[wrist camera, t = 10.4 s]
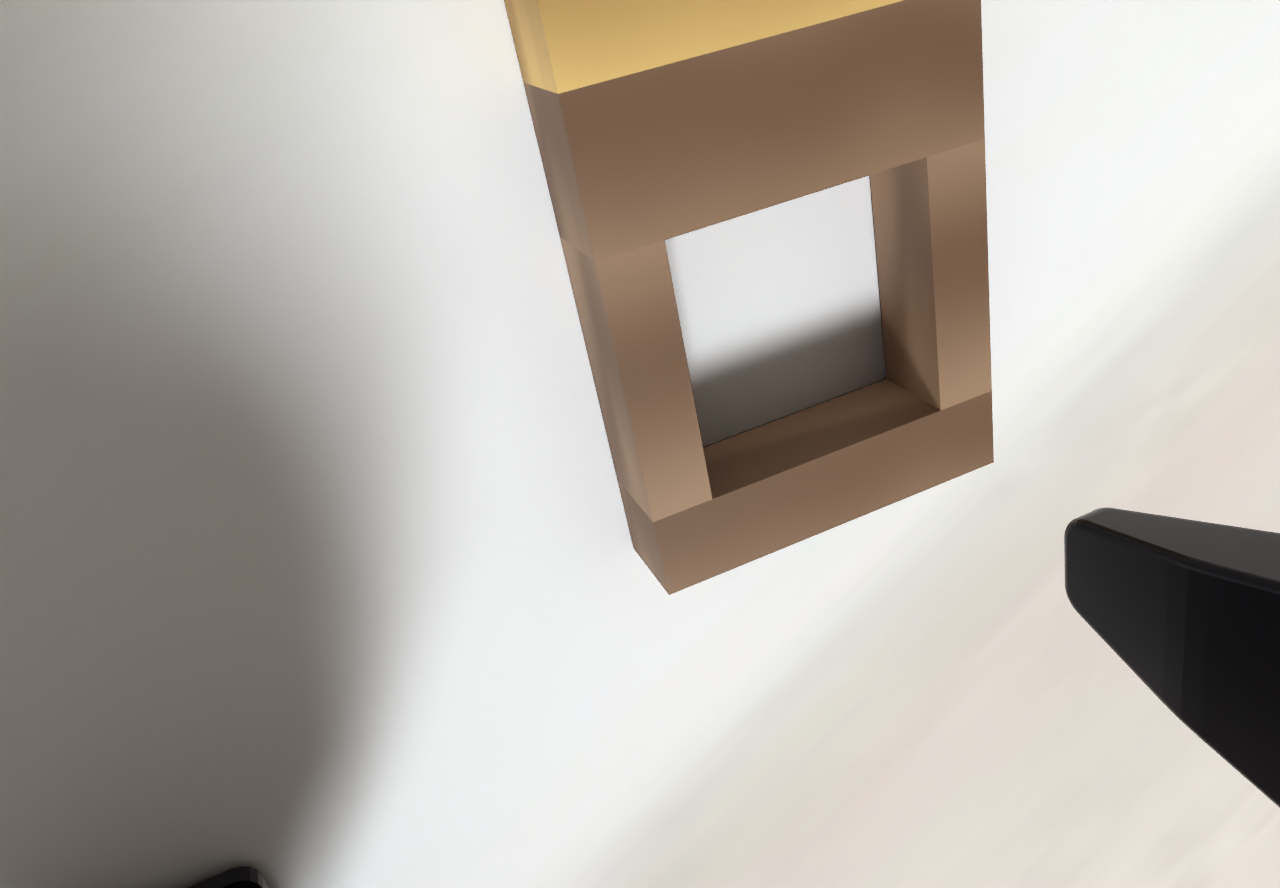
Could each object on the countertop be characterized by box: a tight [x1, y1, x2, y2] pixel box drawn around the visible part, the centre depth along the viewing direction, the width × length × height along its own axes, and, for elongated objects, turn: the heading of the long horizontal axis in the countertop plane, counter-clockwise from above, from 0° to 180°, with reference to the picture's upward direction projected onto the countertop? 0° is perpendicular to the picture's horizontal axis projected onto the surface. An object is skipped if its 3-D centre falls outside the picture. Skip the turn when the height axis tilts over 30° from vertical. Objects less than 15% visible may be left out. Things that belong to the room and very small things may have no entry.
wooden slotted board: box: [504, 0, 994, 595], centre depth 18 cm, size 20×8×2 cm, turn 12°
